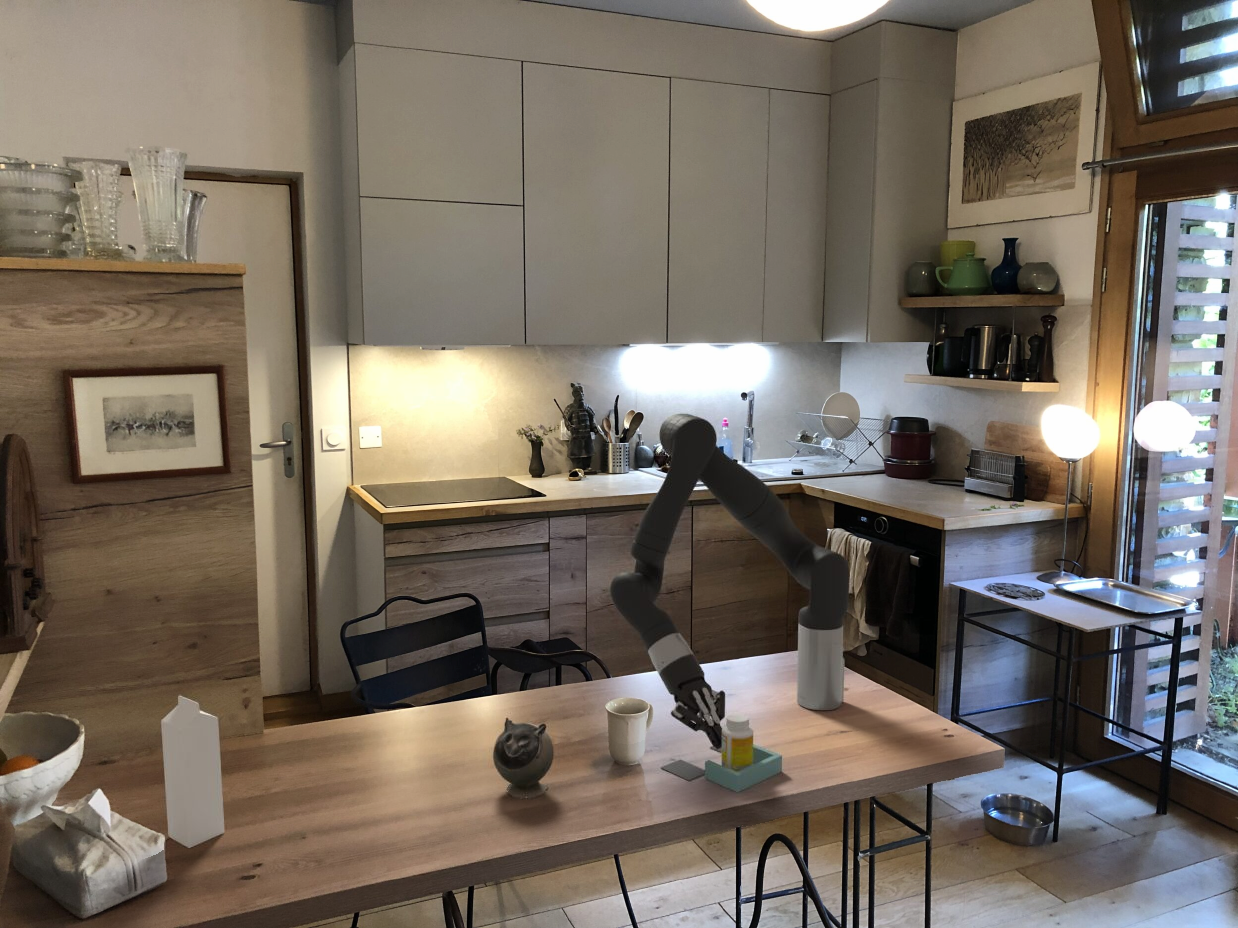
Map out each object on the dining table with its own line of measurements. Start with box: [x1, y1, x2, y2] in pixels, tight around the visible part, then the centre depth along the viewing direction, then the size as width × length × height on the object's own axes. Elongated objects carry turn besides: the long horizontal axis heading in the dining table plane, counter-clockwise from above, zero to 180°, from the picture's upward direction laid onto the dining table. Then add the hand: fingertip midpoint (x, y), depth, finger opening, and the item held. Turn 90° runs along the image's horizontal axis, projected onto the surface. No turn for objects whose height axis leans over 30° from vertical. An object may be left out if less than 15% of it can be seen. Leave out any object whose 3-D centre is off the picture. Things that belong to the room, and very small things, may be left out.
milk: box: [160, 695, 225, 849], centre depth 150 cm, size 6×6×22 cm
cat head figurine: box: [492, 717, 555, 799], centre depth 165 cm, size 10×12×10 cm
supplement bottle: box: [721, 713, 754, 772], centre depth 171 cm, size 6×6×10 cm
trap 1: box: [660, 758, 705, 782], centre depth 173 cm, size 5×7×1 cm
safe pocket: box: [704, 743, 783, 793], centre depth 171 cm, size 12×8×3 cm, turn 132°
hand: (722, 746), depth 174 cm, fingers closed
